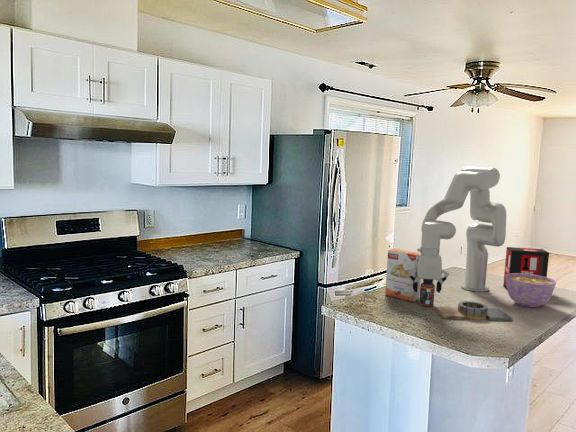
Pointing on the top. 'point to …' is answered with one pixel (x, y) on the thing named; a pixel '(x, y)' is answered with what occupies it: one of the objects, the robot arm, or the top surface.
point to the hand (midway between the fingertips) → (426, 291)
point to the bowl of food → (529, 289)
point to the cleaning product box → (526, 262)
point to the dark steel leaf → (483, 311)
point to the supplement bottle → (427, 292)
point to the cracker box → (401, 274)
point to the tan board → (457, 313)
